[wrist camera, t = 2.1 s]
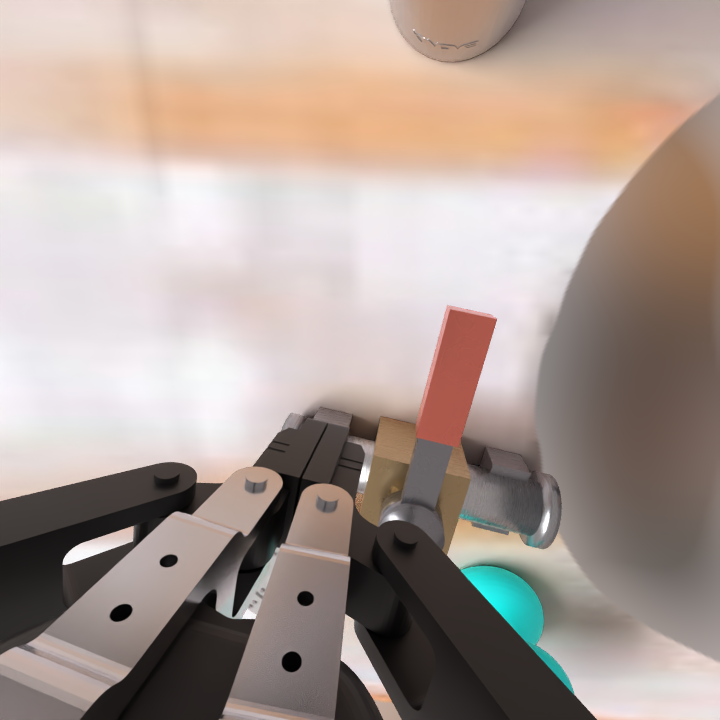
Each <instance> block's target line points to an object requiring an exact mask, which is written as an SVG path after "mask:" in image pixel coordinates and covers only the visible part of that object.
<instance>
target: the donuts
mask: <svg viewBox="0 0 720 720" xmlns="http://www.w3.org/2000/svg"><path fill="white" fill-rule="evenodd" d="M460 571H461V572H462V573H463V574H464V575H465V576H466V577H467V578H468V579H469V580H470V582H471V583H472V584H473V585H474V586H475V587H476V588H477V589H478V590H479V591H480V592H481V594H482V595H483V596H484V597H485V598H486V599H487V600H488V601H489V602H490V603H491V604H492V606H493V607H494V608H495V609H496V610H497V611H498V612H499V613H500V614H501V615H502V617H503V618H504V619H505V620H506V621H507V622H508V623H509V624H510V625H511V626H512V627H513V629H514V630H515V631H516V632H517V633H518V634H519V635H520V636H521V637H522V638H523V639H524V641H525V642H526V643H527V644H528V645H529V646H530V647H531V648H532V649H533V650H534V651H535V653H536V654H537V655H538V656H539V657H540V658H541V659H542V660H543V661H544V662H545V663H546V665H547V666H548V667H549V668H550V669H551V670H552V671H553V672H554V673H555V674H556V675H557V677H558V678H559V679H560V680H561V681H562V682H563V683H564V684H565V685H566V686H567V688H568V689H569V690H570V691H571V692H572V693H573V694H574V691H573V688H572V685H571V683H570V680H569V678H568V677H567V675H566V673H565V672H564V670H563V669H562V667H561V666H560V665H559V664H558V663H557V662H556V660H555V659H554V658H553V657H552V656H550V655H549V654H548V653H547V652H545V651H544V650H542V649H541V648H540V647H538V646H536V644H537V642H538V641H539V639H540V637H541V634H542V631H543V625H544V615H543V609H542V606H541V603H540V601H539V598H538V596H537V595H536V593H535V592H534V590H533V589H532V588H531V587H530V585H529V584H528V583H526V582H525V581H524V580H523V579H522V578H520V577H519V576H517V575H516V574H514V573H512V572H510V571H508V570H505V569H502V568H498V567H493V566H474V567H469V568H465V569H462V570H460Z"/></svg>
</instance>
